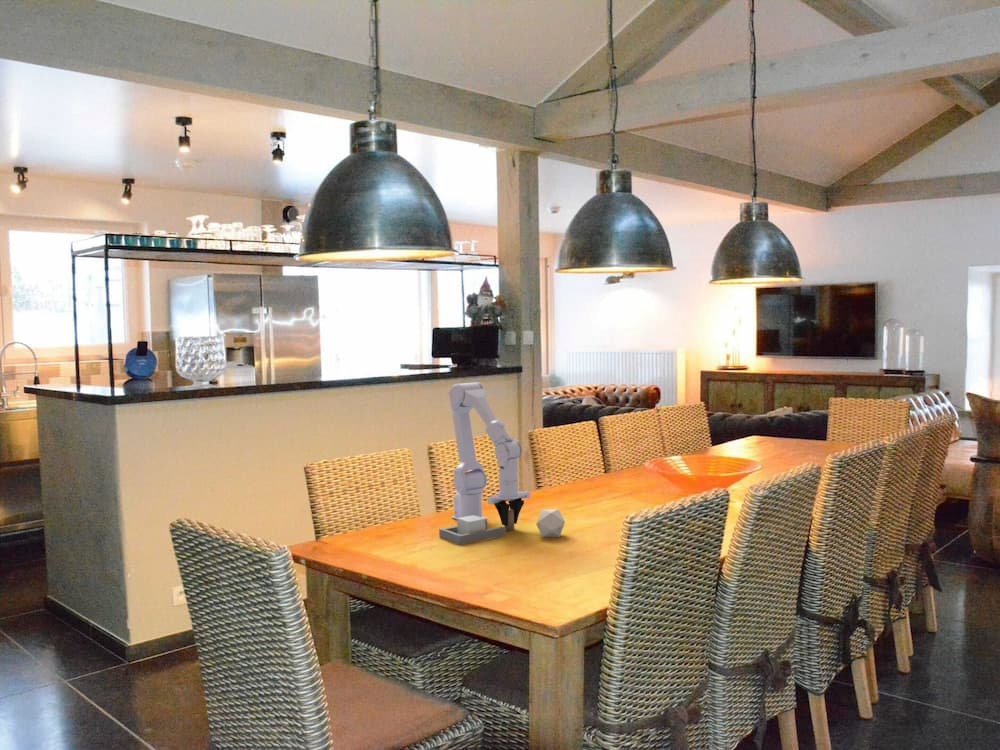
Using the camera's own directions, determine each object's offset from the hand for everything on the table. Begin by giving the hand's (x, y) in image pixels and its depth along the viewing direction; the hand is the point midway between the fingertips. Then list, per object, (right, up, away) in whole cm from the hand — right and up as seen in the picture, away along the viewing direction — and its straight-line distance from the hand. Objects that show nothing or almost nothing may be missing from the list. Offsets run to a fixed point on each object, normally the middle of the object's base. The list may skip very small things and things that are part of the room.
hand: (509, 524), depth 267 cm
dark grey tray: (-11, -2, -8) cm, 13 cm away
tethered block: (-6, -2, -4) cm, 8 cm away
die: (+12, -2, -8) cm, 15 cm away
